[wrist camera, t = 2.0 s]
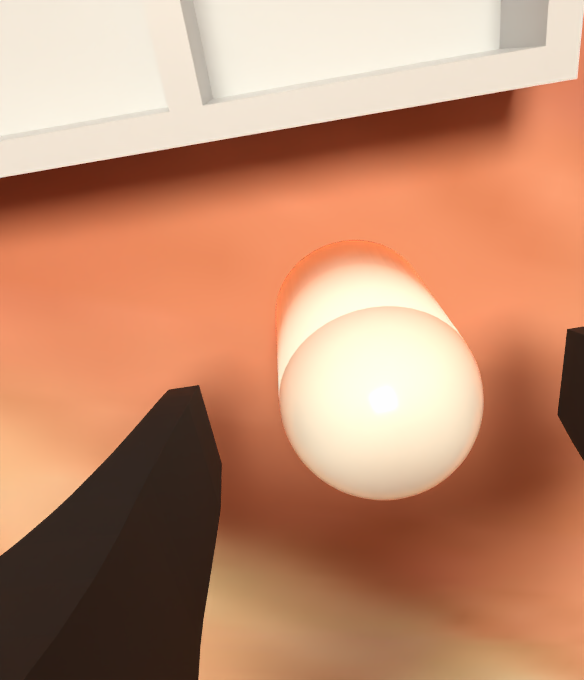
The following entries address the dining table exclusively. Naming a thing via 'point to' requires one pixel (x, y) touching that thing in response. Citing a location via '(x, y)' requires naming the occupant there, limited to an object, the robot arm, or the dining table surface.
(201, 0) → the egg carton
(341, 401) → the cream egg
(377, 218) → the dining table surface
